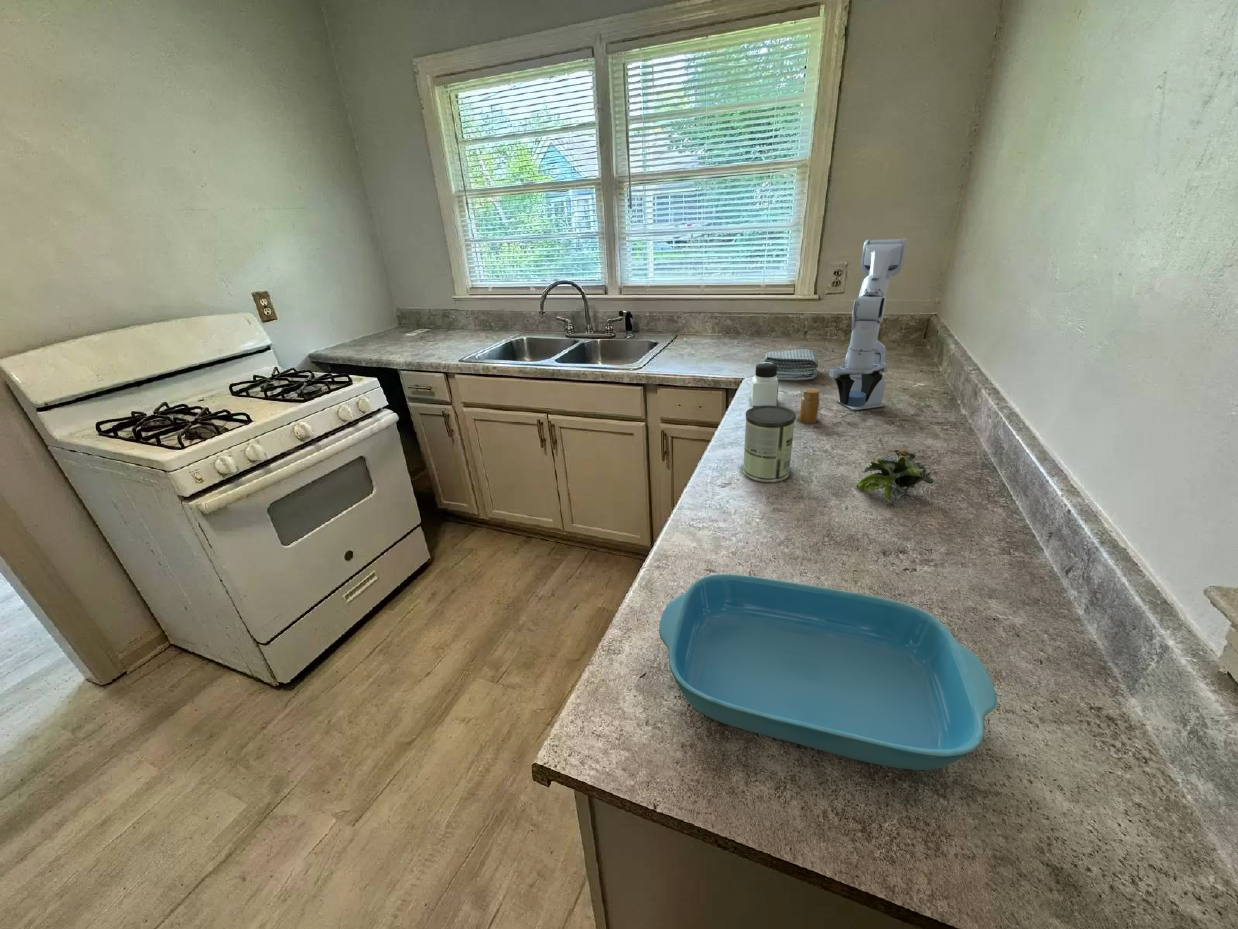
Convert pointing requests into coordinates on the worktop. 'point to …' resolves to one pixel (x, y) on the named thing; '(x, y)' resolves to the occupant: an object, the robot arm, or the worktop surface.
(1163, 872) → the worktop surface
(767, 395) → the medicine bottle
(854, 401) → the jar lid
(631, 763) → the worktop surface
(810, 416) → the honey jar
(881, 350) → the robot arm
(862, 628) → the casserole dish
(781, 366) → the towel
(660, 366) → the worktop surface
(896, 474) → the green leafy plant
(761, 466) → the coffee can
